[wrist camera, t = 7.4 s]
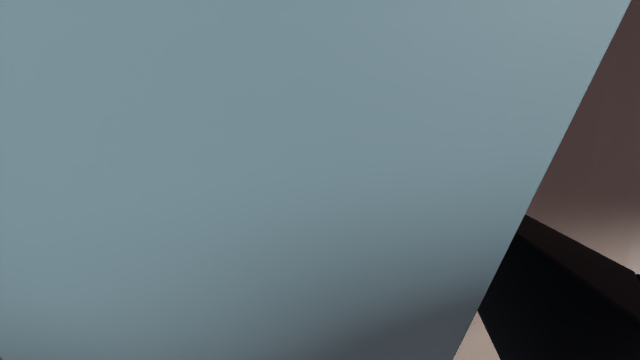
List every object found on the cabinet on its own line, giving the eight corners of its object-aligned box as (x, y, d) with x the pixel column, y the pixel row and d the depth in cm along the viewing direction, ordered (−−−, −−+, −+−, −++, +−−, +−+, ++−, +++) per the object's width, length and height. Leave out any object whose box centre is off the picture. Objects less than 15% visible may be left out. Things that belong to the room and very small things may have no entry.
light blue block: (326, 263, 14) (380, 503, 8) (182, 272, 13) (134, 548, 7) (368, -68, 8) (641, -20, 3) (117, -91, 7) (-320, -99, 2)
